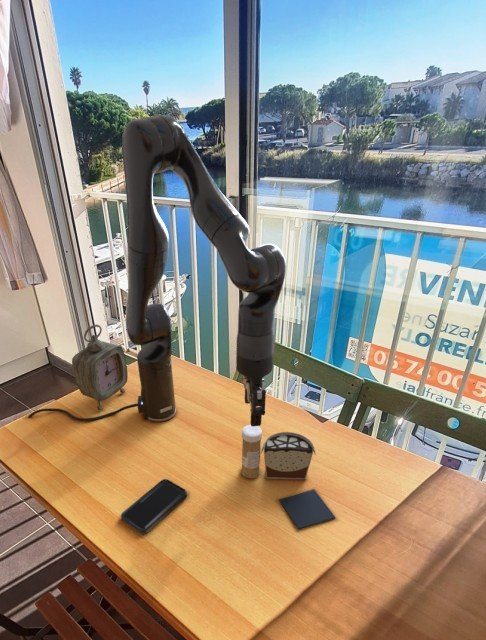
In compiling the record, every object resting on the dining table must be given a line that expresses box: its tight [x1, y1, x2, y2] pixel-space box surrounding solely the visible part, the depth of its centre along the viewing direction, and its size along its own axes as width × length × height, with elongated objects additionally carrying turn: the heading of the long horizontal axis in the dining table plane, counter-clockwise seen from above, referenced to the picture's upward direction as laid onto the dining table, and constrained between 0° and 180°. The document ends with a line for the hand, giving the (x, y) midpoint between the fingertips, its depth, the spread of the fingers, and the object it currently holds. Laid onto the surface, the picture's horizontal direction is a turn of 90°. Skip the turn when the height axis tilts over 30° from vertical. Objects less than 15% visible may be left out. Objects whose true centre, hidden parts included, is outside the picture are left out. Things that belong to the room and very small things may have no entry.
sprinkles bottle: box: [240, 424, 263, 479], centre depth 107 cm, size 5×5×13 cm
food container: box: [260, 431, 316, 480], centre depth 108 cm, size 12×6×10 cm, turn 84°
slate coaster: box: [278, 488, 336, 530], centre depth 101 cm, size 9×9×1 cm
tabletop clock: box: [71, 324, 128, 412], centre depth 134 cm, size 14×9×25 cm, turn 147°
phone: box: [120, 478, 188, 535], centre depth 103 cm, size 8×1×15 cm
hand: (252, 413), depth 101 cm, fingers open, 8 cm apart
